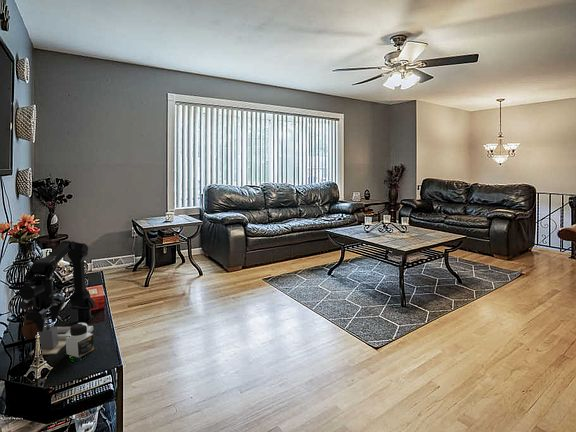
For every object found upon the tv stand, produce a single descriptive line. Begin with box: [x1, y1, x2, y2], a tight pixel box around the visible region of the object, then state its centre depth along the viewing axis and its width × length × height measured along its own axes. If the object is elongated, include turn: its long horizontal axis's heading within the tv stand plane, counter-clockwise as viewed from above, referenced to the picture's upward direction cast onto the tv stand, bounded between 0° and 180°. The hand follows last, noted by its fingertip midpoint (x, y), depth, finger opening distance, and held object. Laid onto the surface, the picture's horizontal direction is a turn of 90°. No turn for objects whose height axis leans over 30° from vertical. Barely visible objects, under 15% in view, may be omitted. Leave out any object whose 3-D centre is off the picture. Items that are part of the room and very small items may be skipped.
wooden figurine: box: [21, 307, 39, 340], centre depth 151 cm, size 7×6×15 cm
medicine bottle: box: [65, 322, 95, 359], centre depth 141 cm, size 7×7×12 cm
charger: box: [38, 324, 59, 349], centre depth 143 cm, size 4×5×10 cm
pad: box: [29, 340, 66, 356], centre depth 144 cm, size 10×10×1 cm
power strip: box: [56, 325, 94, 341], centre depth 155 cm, size 9×18×3 cm, turn 97°
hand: (47, 326), depth 143 cm, fingers open, 9 cm apart
